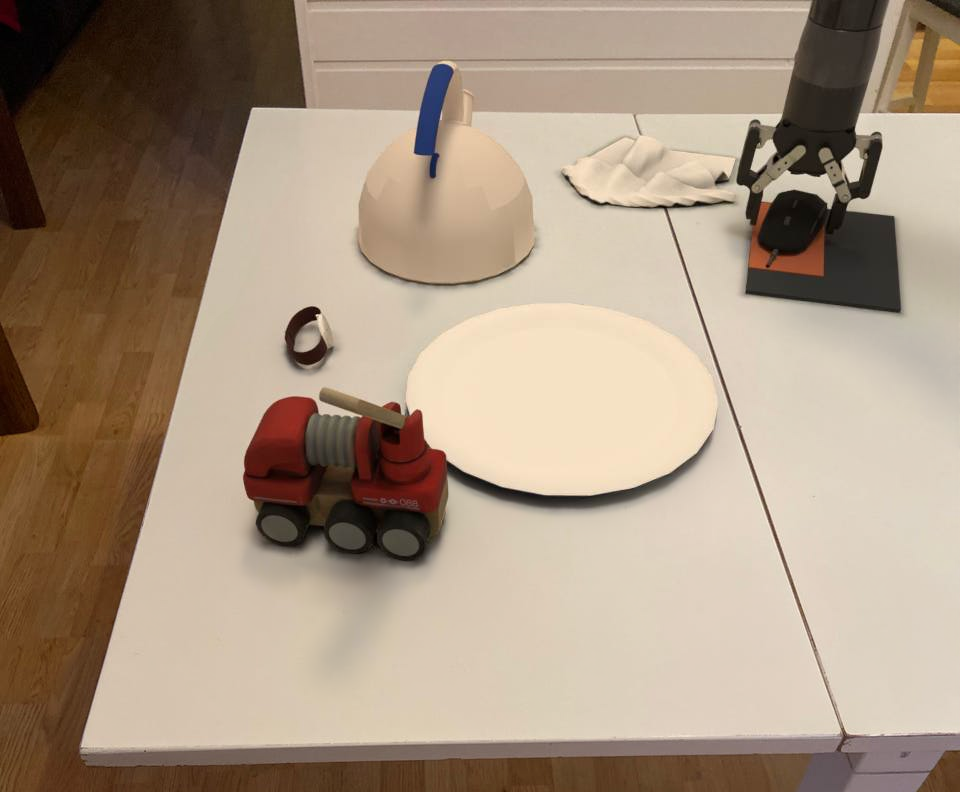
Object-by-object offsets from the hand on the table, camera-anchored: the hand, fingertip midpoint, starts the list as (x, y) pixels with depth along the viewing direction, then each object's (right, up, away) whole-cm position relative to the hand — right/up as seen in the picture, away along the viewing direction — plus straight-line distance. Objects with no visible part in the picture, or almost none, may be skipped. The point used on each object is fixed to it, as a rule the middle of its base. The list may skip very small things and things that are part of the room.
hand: (791, 226), depth 108 cm
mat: (+3, -3, 0) cm, 5 cm away
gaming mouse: (0, -1, +1) cm, 1 cm away
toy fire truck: (-46, -38, -28) cm, 66 cm away
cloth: (-13, +11, +11) cm, 20 cm away
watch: (-52, -17, -11) cm, 56 cm away
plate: (-28, -24, -17) cm, 40 cm away
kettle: (-39, -1, +2) cm, 39 cm away
